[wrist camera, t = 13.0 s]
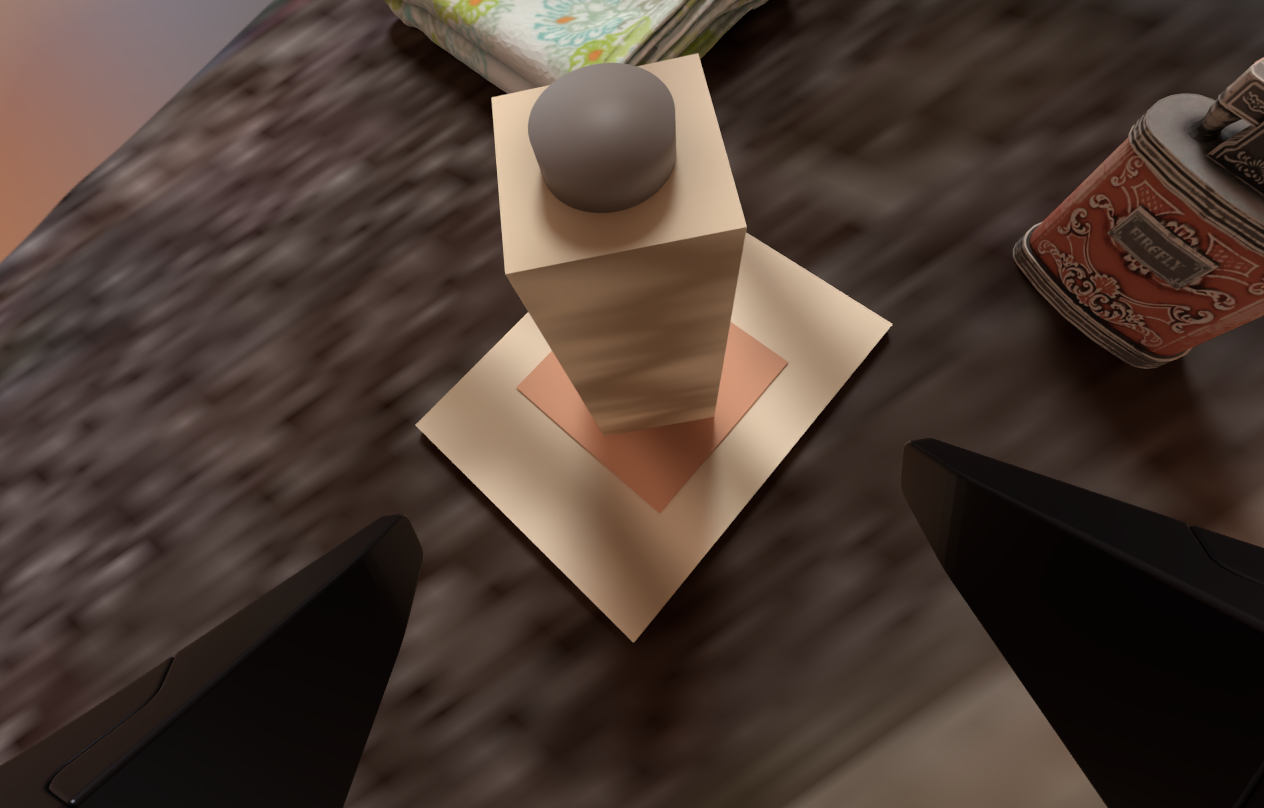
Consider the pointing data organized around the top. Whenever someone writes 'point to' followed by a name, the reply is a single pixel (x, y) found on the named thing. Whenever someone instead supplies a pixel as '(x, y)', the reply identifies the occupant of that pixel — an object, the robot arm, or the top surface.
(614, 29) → the towel
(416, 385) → the top surface
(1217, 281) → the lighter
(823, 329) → the card
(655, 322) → the pepper mill
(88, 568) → the top surface
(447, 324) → the top surface
